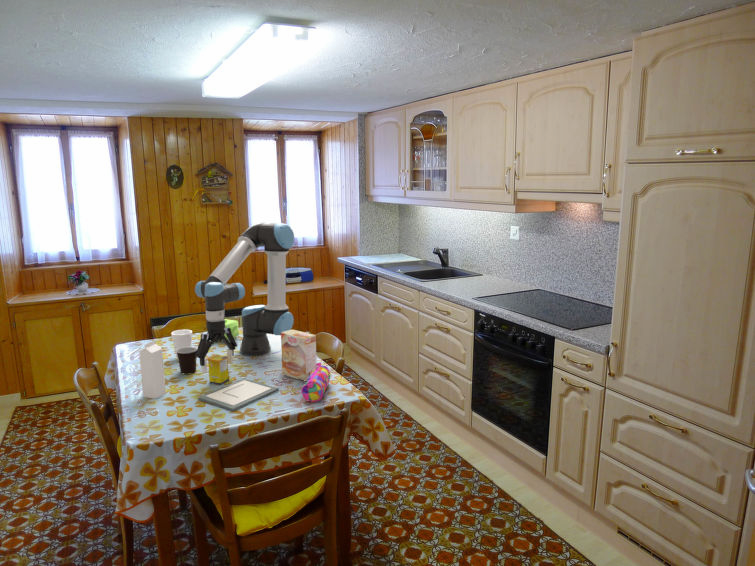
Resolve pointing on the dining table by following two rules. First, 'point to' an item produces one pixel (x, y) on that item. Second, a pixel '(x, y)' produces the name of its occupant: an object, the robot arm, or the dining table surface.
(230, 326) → the green lumpy block
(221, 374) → the supplement box
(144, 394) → the milk
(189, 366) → the coffee mug
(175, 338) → the foam cup
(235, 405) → the paper pad
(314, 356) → the coffeecake box
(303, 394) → the pencil case
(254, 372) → the dining table surface
